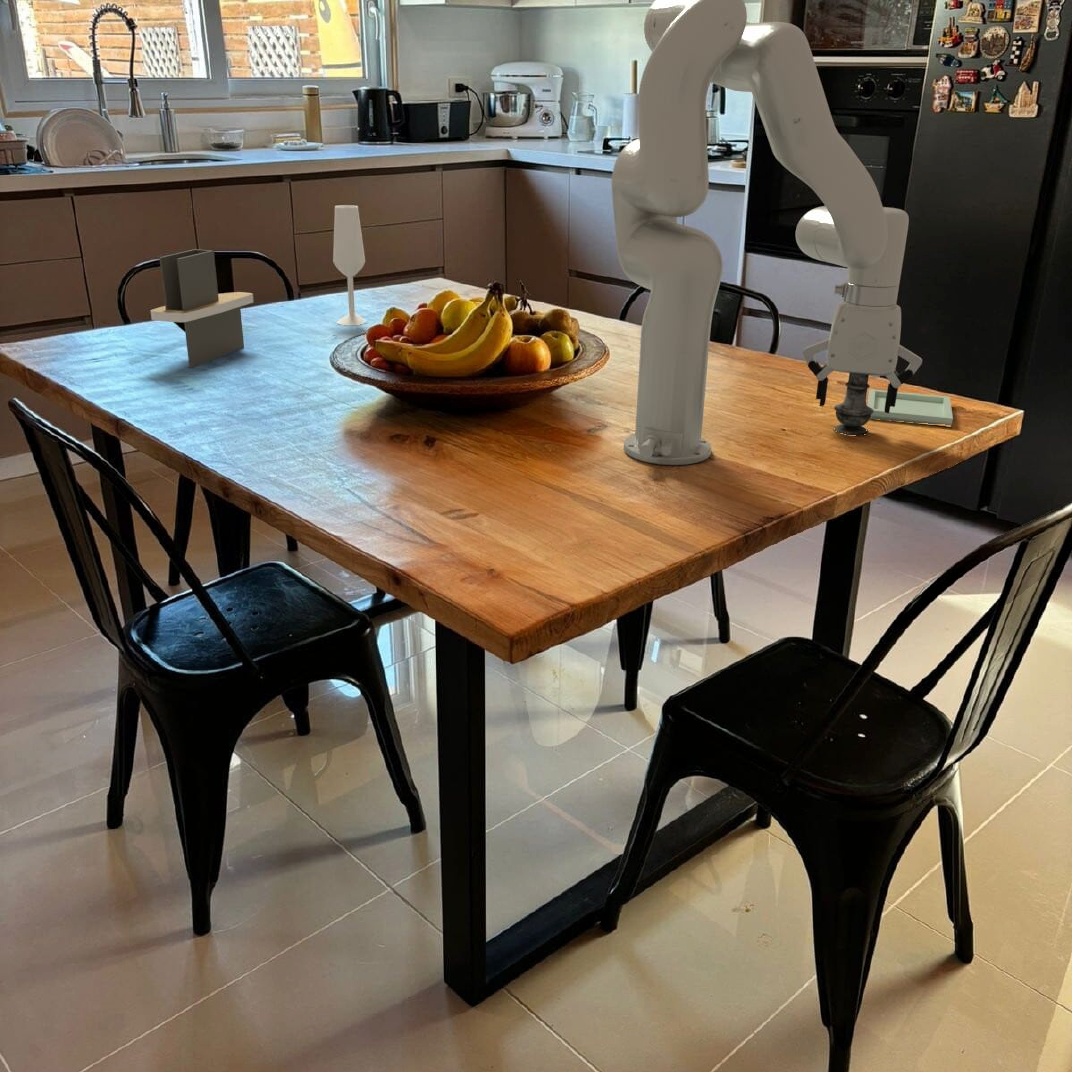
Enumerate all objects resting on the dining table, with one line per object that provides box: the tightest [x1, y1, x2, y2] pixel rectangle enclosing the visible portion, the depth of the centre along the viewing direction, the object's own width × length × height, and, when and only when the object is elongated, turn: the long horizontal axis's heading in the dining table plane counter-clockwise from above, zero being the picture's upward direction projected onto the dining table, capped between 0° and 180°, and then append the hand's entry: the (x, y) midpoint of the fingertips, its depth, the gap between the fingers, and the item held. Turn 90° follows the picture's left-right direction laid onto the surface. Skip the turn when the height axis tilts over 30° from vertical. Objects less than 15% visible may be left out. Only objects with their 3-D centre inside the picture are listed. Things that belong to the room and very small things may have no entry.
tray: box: [866, 388, 954, 425], centre depth 173 cm, size 13×13×2 cm
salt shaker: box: [833, 373, 874, 437], centre depth 161 cm, size 6×6×12 cm
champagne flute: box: [332, 204, 367, 326], centre depth 222 cm, size 7×7×24 cm
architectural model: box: [150, 248, 254, 369], centre depth 194 cm, size 38×25×20 cm, turn 161°
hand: (854, 407), depth 162 cm, fingers open, 9 cm apart
